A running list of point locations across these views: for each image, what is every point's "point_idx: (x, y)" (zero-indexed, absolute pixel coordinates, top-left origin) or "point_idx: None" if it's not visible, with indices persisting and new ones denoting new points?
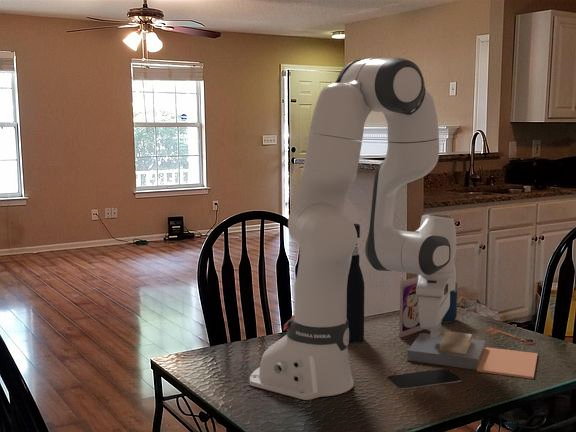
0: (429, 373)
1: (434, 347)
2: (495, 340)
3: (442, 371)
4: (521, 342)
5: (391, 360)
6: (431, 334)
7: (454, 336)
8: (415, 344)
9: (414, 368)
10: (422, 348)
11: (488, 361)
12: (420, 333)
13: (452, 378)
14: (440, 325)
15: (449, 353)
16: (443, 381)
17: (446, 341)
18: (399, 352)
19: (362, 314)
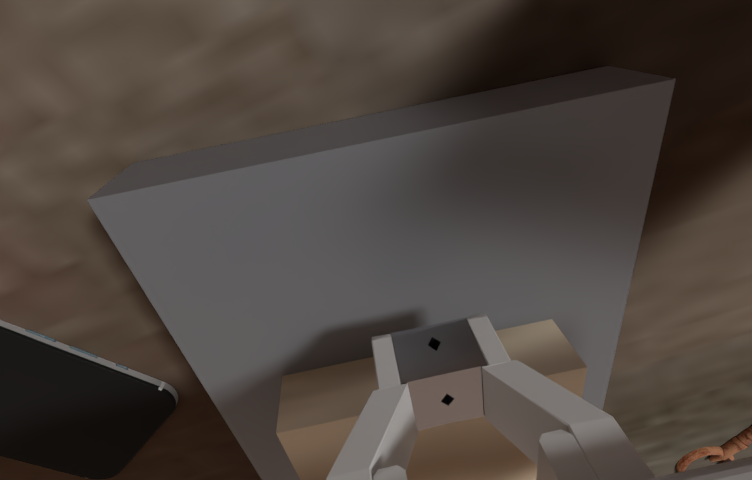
0: (31, 372)
1: (323, 330)
2: (722, 386)
3: (123, 402)
4: (695, 457)
5: (7, 36)
6: (375, 364)
7: (475, 440)
8: (295, 190)
9: (39, 267)
10: (239, 278)
11: None
12: (654, 88)
13: (80, 458)
14: (516, 446)
15: (274, 426)
16: (3, 450)
17: (331, 448)
18: (262, 5)
19: None
